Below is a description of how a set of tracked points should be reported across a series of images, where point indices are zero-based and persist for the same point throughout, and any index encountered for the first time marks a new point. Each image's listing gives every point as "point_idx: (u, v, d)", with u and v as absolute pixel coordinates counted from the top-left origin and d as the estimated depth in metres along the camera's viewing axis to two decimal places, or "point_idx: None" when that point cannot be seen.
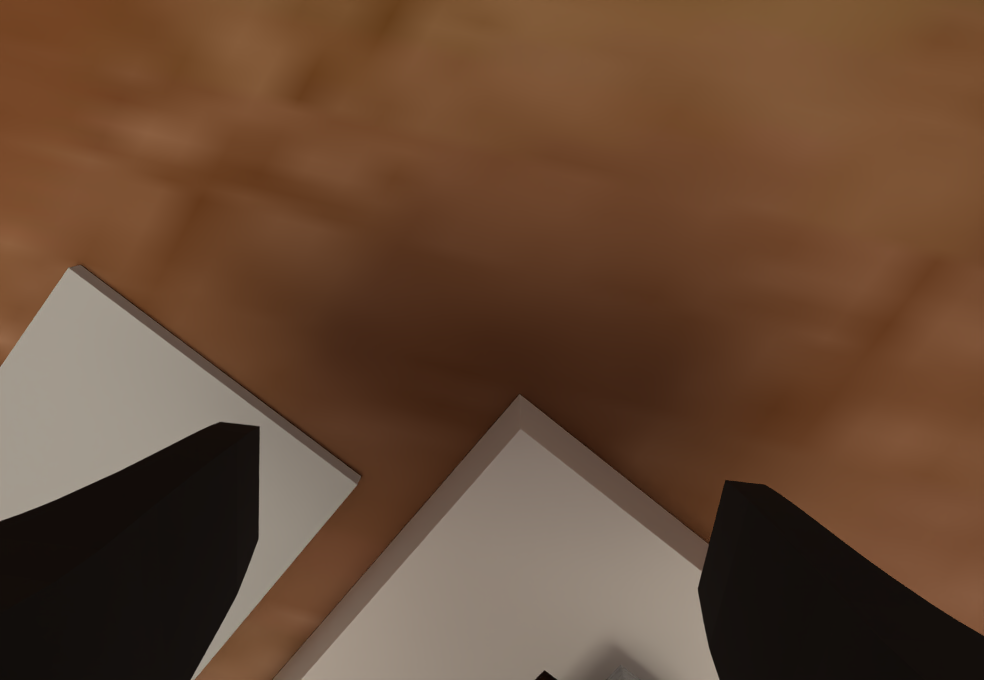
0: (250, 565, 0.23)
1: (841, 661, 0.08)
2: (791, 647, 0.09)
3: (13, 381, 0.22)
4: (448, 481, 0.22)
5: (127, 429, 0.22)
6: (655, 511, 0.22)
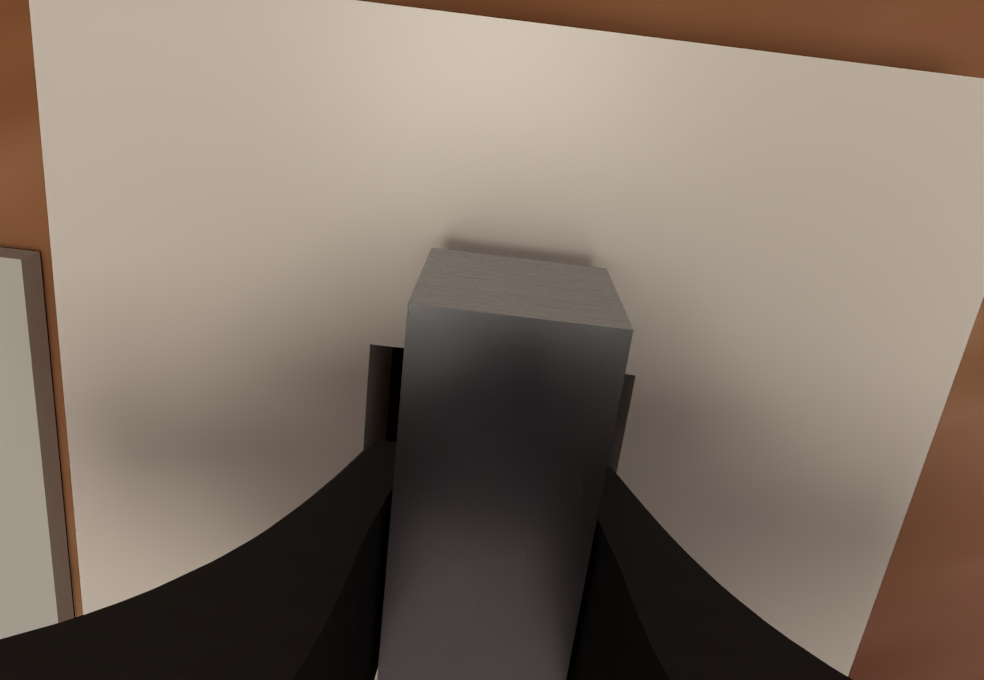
0: None
1: (617, 636, 0.08)
2: (594, 625, 0.09)
3: None
4: None
5: None
6: None
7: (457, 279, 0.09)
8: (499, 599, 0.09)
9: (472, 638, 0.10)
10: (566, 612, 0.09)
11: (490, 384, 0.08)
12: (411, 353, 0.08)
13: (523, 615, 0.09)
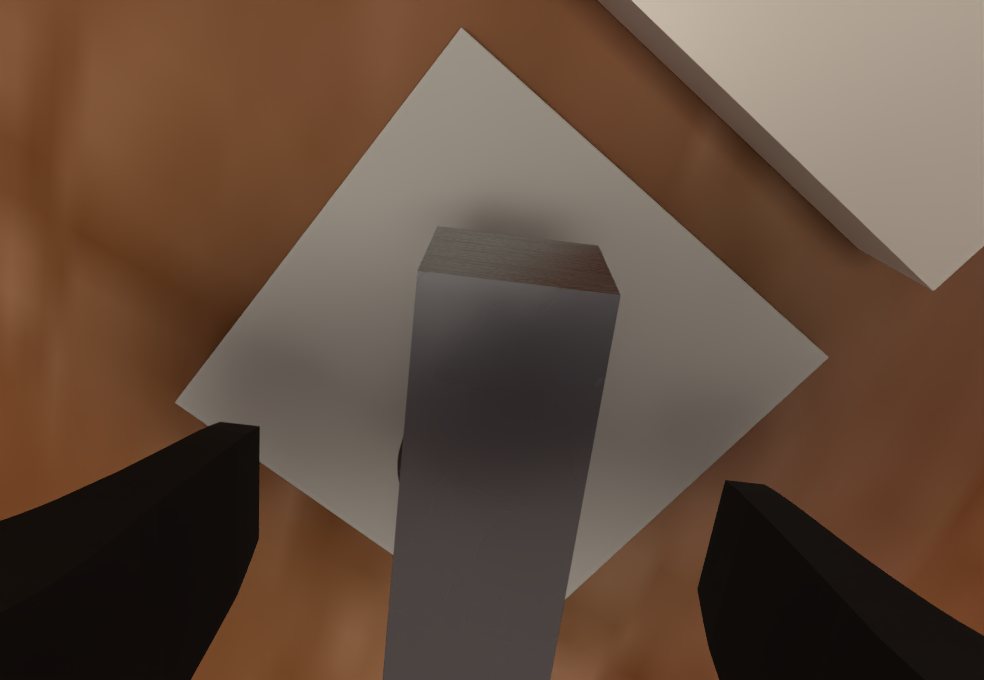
0: (594, 211, 0.15)
1: (841, 661, 0.08)
2: (791, 647, 0.09)
3: (327, 485, 0.17)
4: None
5: (384, 359, 0.16)
6: None
7: (461, 252, 0.10)
8: (499, 544, 0.10)
9: (475, 582, 0.10)
10: (560, 557, 0.10)
11: (492, 344, 0.09)
12: (420, 316, 0.09)
13: (522, 560, 0.10)
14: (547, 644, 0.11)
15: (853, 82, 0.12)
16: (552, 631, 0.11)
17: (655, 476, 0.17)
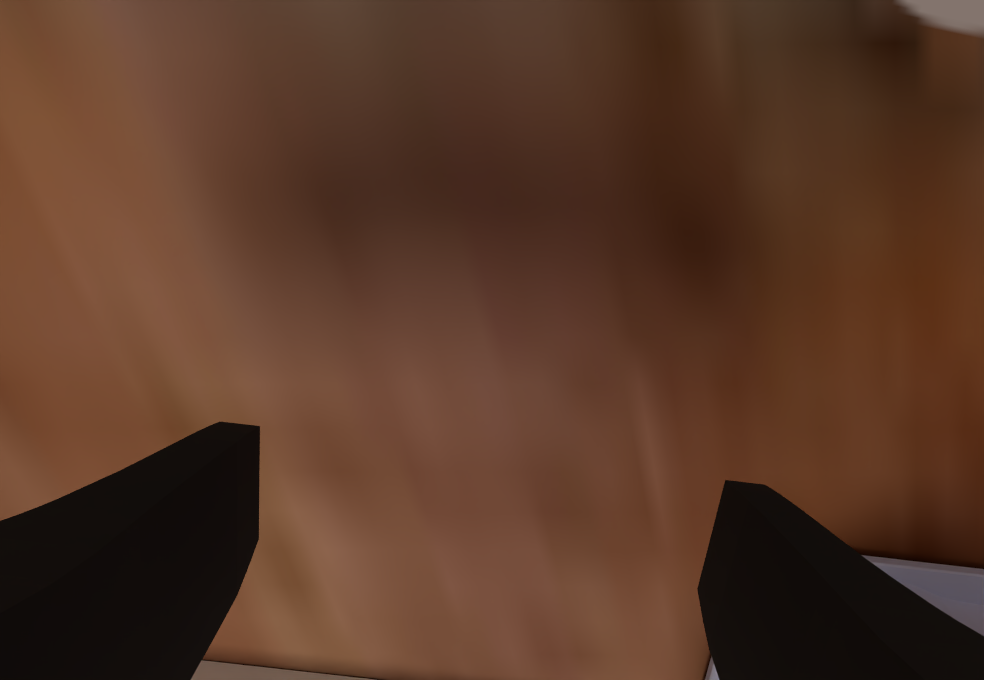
0: None
1: (841, 661, 0.08)
2: (790, 646, 0.09)
3: None
4: None
5: None
6: None
7: None
8: None
9: None
10: None
11: None
12: None
13: None
14: None
15: None
16: None
17: None
